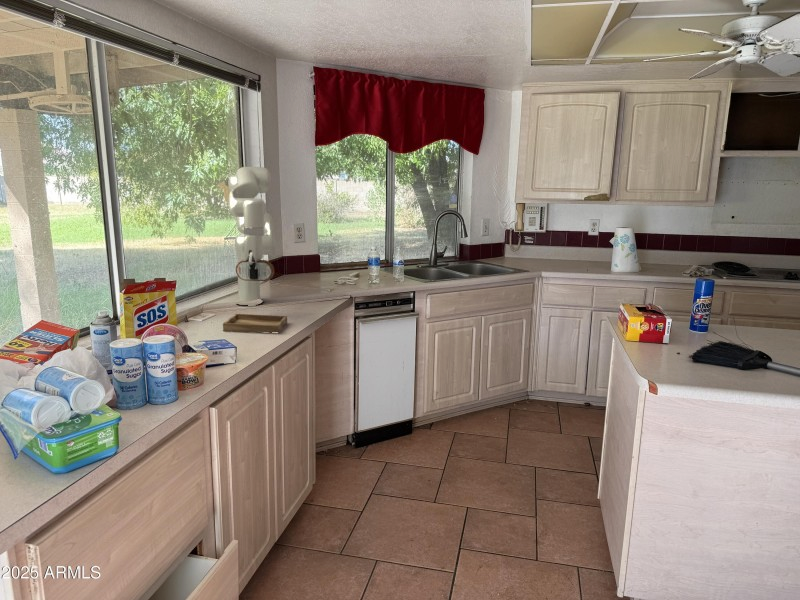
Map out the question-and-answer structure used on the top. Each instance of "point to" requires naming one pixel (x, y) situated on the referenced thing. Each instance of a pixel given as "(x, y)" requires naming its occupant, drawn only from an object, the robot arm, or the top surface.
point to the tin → (263, 270)
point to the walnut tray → (254, 323)
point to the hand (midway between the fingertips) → (255, 277)
